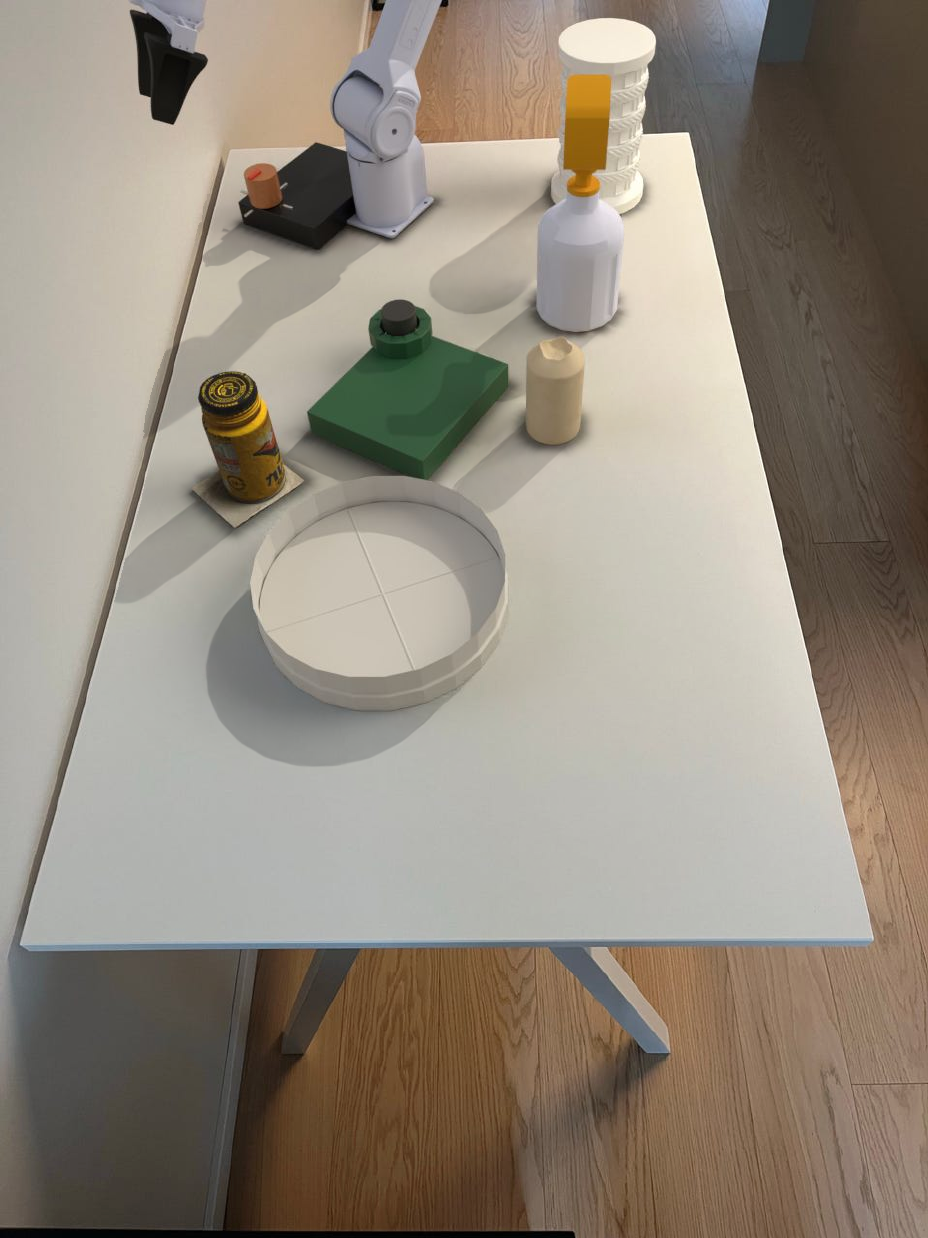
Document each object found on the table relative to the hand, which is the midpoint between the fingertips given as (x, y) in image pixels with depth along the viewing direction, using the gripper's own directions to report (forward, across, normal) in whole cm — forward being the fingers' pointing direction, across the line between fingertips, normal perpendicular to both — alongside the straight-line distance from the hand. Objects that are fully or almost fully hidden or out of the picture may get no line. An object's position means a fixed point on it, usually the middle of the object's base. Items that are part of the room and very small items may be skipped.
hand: (156, 108), depth 95 cm
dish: (+23, +49, +16) cm, 56 cm away
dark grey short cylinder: (+9, +20, +23) cm, 32 cm away
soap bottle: (+4, +20, +44) cm, 48 cm away
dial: (+10, -12, +17) cm, 23 cm away
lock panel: (+10, -14, +23) cm, 29 cm away
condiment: (+24, +30, +8) cm, 40 cm away
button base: (+15, +27, +24) cm, 39 cm away
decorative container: (-5, 0, +54) cm, 54 cm away
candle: (+10, +36, +35) cm, 51 cm away
